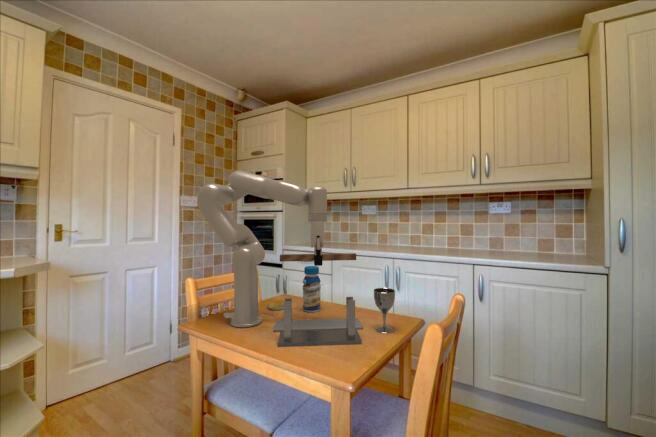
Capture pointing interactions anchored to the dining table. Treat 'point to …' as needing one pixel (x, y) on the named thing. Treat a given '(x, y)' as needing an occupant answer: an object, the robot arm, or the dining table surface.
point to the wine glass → (384, 305)
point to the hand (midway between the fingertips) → (318, 264)
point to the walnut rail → (311, 257)
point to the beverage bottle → (311, 289)
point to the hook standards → (319, 336)
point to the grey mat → (316, 325)
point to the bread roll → (275, 305)
